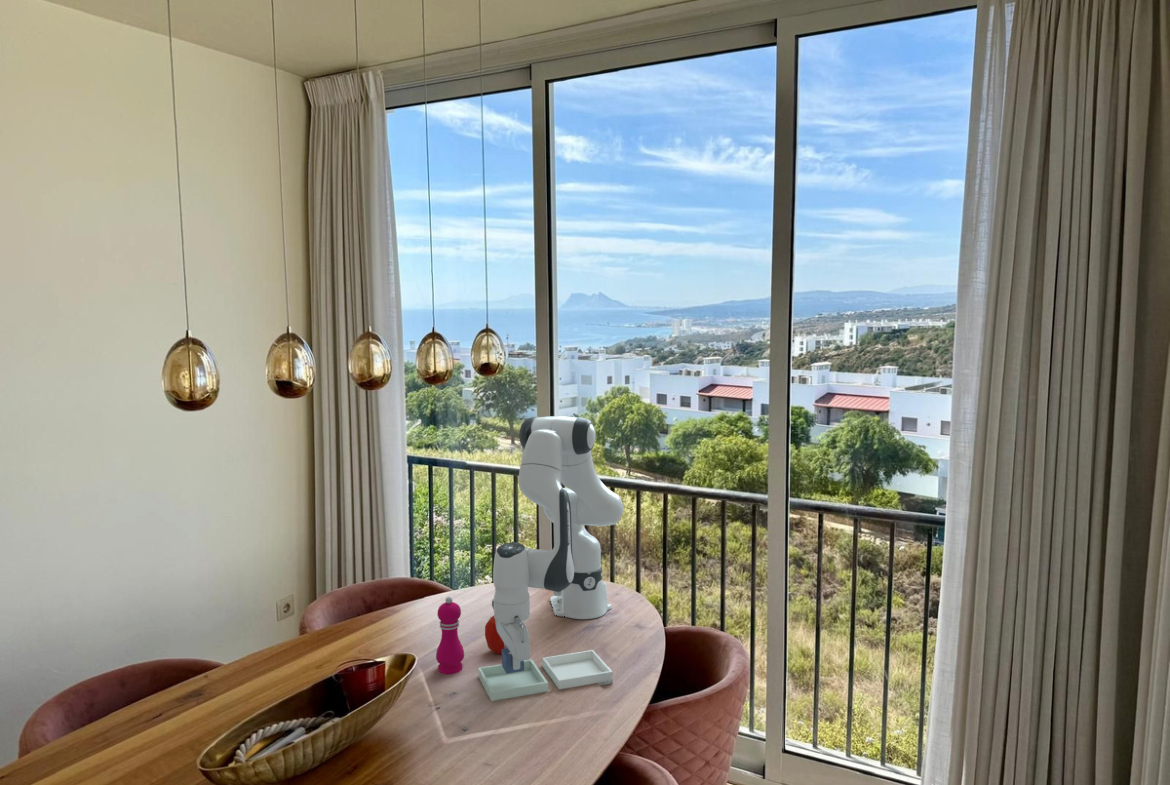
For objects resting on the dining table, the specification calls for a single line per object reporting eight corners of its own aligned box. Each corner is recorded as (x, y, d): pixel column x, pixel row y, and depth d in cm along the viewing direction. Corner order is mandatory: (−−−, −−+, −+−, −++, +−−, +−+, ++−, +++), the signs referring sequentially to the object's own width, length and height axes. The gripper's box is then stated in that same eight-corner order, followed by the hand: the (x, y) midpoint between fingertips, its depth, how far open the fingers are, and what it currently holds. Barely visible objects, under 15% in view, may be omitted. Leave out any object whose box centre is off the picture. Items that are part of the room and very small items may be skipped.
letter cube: (502, 666, 196) (501, 648, 195) (519, 663, 197) (519, 645, 197) (506, 673, 191) (506, 655, 191) (524, 670, 193) (523, 653, 192)
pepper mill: (458, 679, 199) (457, 602, 197) (432, 676, 200) (430, 600, 198) (468, 666, 206) (467, 593, 204) (442, 664, 207) (441, 591, 205)
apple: (528, 648, 217) (528, 608, 216) (509, 662, 208) (508, 620, 207) (498, 642, 222) (497, 602, 221) (478, 655, 213) (477, 614, 212)
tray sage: (478, 679, 198) (478, 667, 198) (532, 670, 203) (531, 659, 203) (491, 704, 185) (491, 692, 185) (548, 694, 190) (548, 682, 190)
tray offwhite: (542, 668, 204) (542, 657, 204) (592, 660, 209) (592, 649, 209) (559, 692, 191) (559, 680, 191) (612, 683, 196) (612, 671, 195)
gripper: (536, 623, 184) (537, 679, 185) (513, 594, 203) (514, 645, 205) (510, 627, 182) (511, 683, 183) (490, 597, 201) (491, 649, 202)
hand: (513, 663), depth 194 cm, fingers closed on letter cube, 4 cm apart
